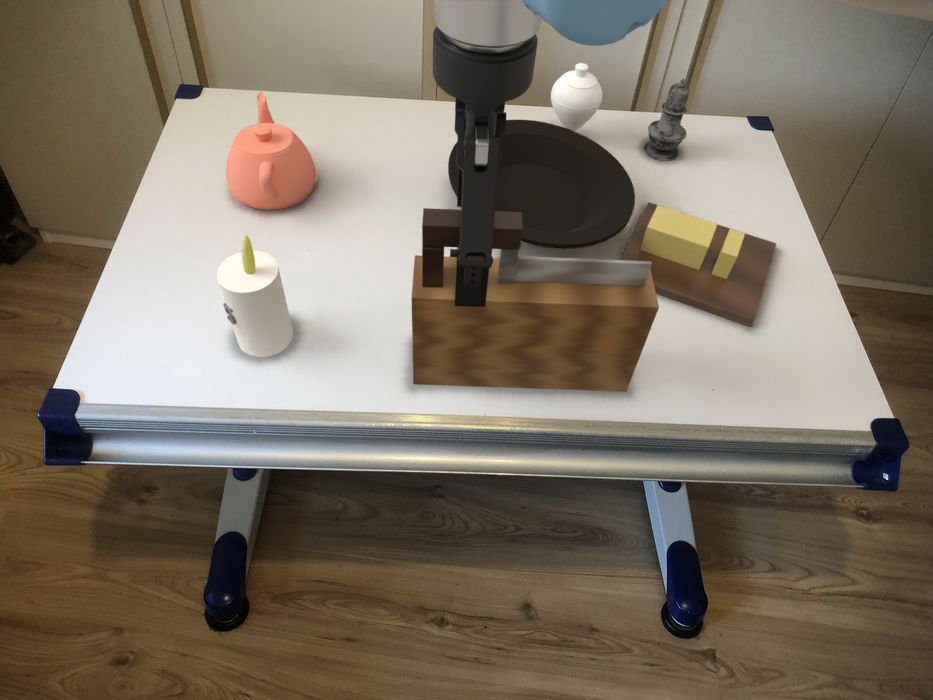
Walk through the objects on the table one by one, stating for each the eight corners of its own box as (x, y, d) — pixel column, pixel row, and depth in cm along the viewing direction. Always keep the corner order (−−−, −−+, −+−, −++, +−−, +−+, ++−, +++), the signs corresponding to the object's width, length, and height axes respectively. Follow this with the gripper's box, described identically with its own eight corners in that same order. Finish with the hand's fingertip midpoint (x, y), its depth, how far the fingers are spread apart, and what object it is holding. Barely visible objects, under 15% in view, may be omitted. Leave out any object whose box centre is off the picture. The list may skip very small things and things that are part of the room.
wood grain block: (413, 384, 76) (411, 297, 66) (416, 343, 80) (414, 254, 69) (626, 392, 77) (659, 307, 66) (619, 350, 81) (649, 264, 70)
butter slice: (726, 279, 88) (737, 256, 85) (711, 274, 88) (721, 251, 85) (734, 256, 91) (745, 233, 88) (719, 251, 91) (729, 228, 88)
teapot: (229, 228, 91) (212, 168, 84) (231, 149, 102) (216, 90, 95) (321, 220, 93) (312, 161, 86) (313, 143, 104) (305, 85, 97)
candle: (225, 335, 80) (191, 237, 68) (272, 308, 83) (247, 209, 71) (256, 367, 77) (226, 270, 65) (304, 337, 80) (283, 240, 68)
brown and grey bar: (422, 287, 67) (422, 227, 61) (423, 265, 69) (423, 205, 63) (646, 295, 67) (667, 237, 62) (641, 274, 69) (661, 215, 63)
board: (750, 327, 84) (754, 320, 84) (611, 277, 89) (613, 271, 88) (773, 249, 94) (776, 243, 93) (646, 208, 98) (648, 201, 97)
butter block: (698, 270, 89) (708, 247, 86) (639, 250, 91) (647, 226, 88) (707, 247, 92) (717, 224, 89) (650, 228, 94) (657, 204, 91)
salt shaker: (678, 165, 105) (702, 93, 96) (640, 157, 106) (660, 85, 97) (681, 144, 109) (705, 72, 100) (644, 136, 110) (665, 65, 101)
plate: (415, 175, 100) (415, 142, 96) (551, 137, 109) (557, 104, 104) (514, 300, 85) (519, 268, 81) (664, 244, 93) (675, 212, 89)
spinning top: (588, 124, 111) (603, 52, 102) (596, 152, 106) (613, 79, 97) (541, 123, 111) (552, 51, 101) (548, 152, 106) (560, 79, 97)
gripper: (438, -47, 56) (435, 169, 73) (425, 125, 41) (424, 351, 57) (529, -42, 57) (505, 172, 73) (551, 131, 41) (514, 354, 57)
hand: (470, 251), depth 65 cm, fingers open, 13 cm apart
